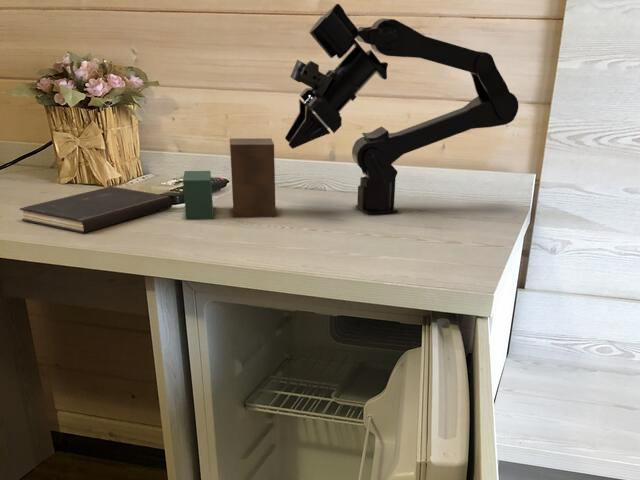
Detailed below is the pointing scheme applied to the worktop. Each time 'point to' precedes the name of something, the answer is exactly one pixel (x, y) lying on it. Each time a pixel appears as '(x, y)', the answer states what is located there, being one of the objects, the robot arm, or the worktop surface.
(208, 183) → the green block
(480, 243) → the worktop surface
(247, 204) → the walnut block
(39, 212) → the hardcover book
